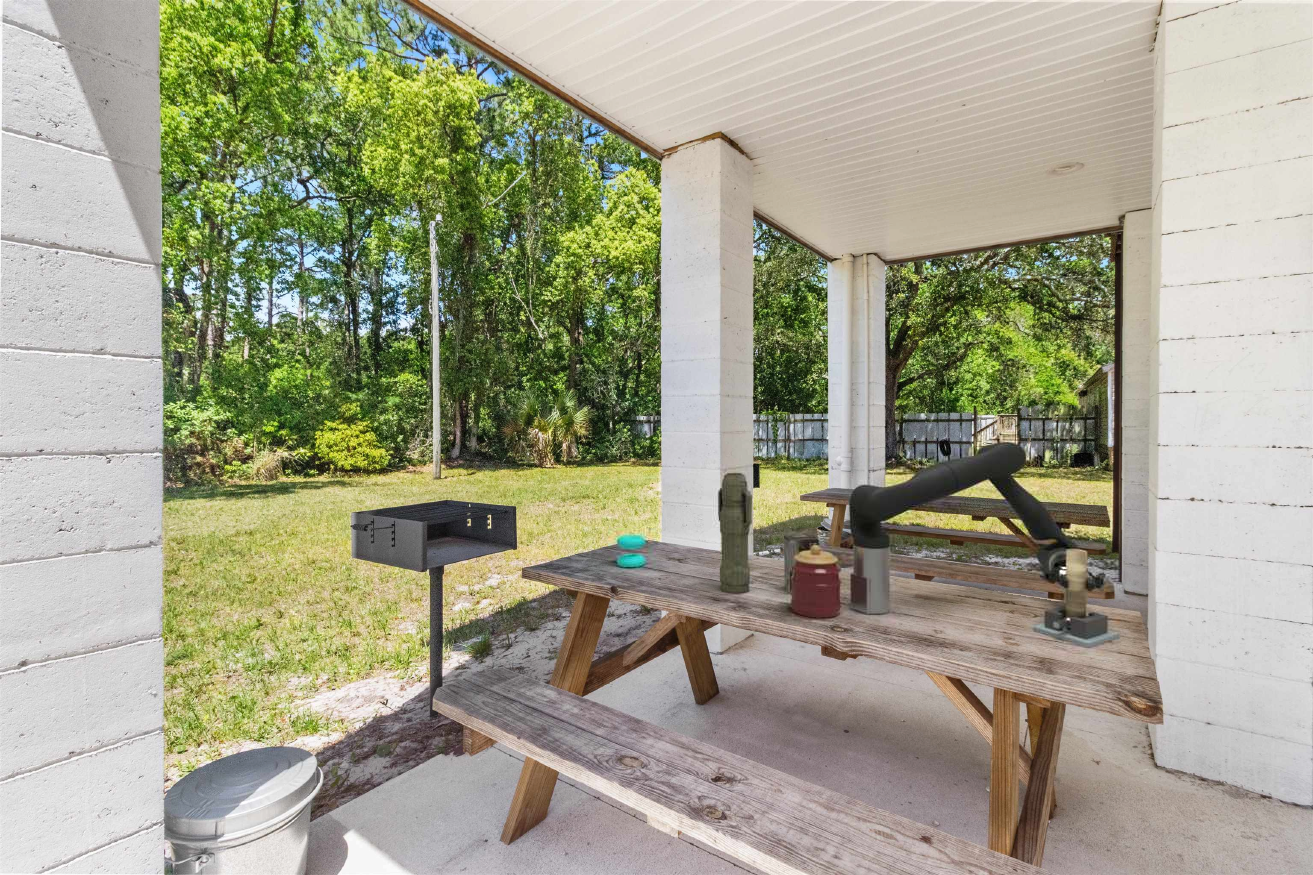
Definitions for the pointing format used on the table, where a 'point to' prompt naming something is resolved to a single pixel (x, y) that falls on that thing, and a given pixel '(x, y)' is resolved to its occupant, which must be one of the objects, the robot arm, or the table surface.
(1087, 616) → the plunger
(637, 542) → the donuts
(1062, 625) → the plunger
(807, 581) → the canister
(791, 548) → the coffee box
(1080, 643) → the band socket
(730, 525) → the thermos
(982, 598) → the table surface
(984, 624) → the table surface
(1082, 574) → the birch dowel
